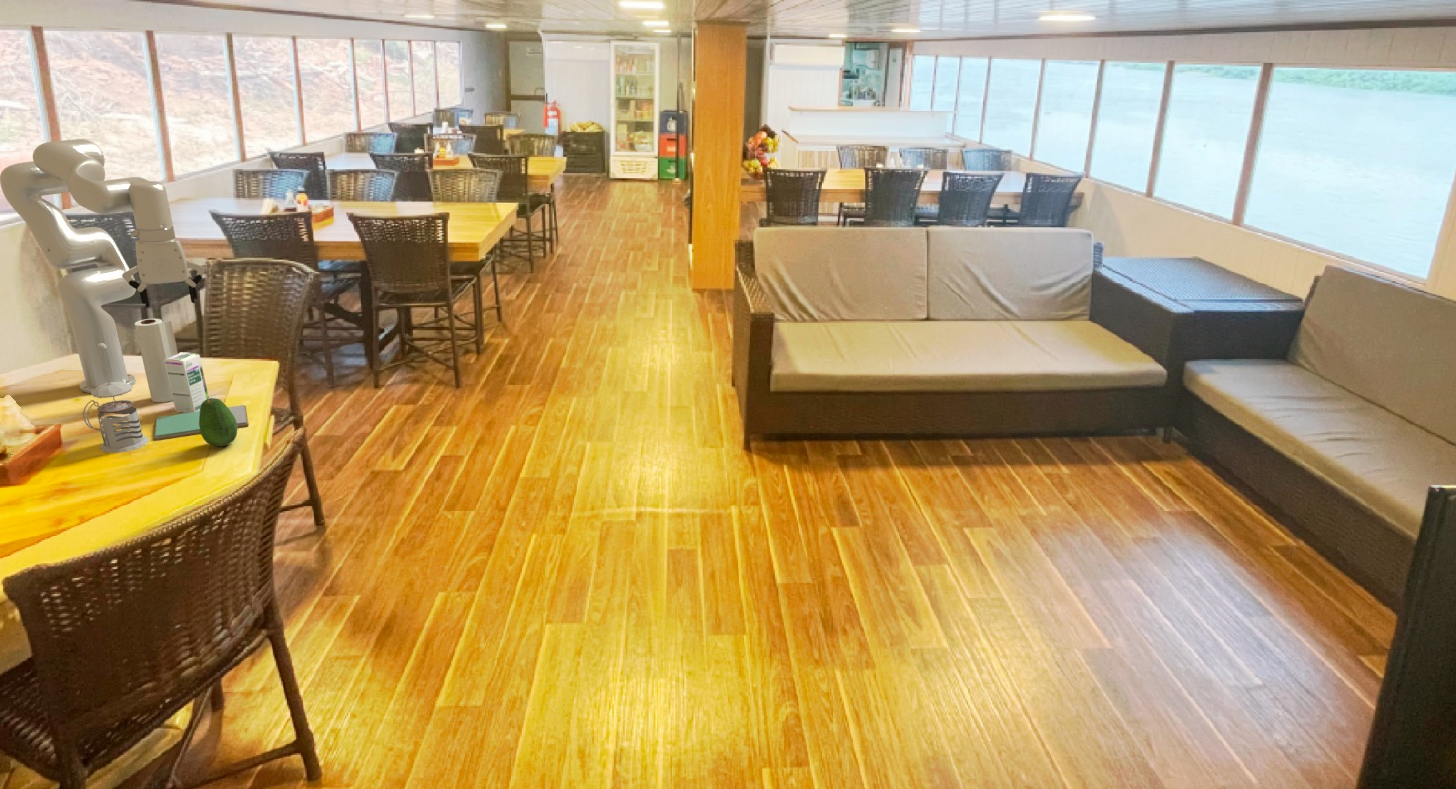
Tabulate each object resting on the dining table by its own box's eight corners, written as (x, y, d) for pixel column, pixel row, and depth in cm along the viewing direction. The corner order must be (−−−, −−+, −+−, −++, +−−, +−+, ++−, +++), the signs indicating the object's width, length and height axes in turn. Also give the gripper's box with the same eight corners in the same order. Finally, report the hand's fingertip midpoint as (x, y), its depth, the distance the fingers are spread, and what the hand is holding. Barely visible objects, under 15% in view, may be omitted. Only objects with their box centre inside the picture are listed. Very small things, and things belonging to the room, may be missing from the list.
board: (156, 420, 226) (155, 416, 225) (245, 407, 235) (245, 404, 234) (154, 440, 215) (153, 436, 215) (248, 426, 224) (247, 422, 224)
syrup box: (194, 414, 230) (183, 360, 224) (174, 412, 231) (163, 358, 225) (211, 406, 235) (200, 353, 230) (191, 403, 236) (180, 351, 231)
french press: (157, 441, 215) (135, 341, 205) (105, 459, 205) (79, 355, 196) (135, 431, 219) (111, 333, 210) (83, 448, 210) (56, 347, 201)
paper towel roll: (146, 401, 237) (128, 322, 229) (166, 393, 242) (149, 316, 234) (167, 405, 235) (150, 326, 226) (187, 397, 240) (171, 320, 232)
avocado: (199, 443, 214) (190, 397, 210) (236, 435, 219) (227, 389, 214) (207, 455, 209) (197, 408, 204) (244, 447, 213) (236, 400, 209)
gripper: (112, 240, 209) (128, 312, 215) (198, 235, 217) (211, 304, 223) (114, 234, 215) (130, 303, 221) (198, 229, 223) (210, 296, 229)
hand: (170, 303), depth 222 cm, fingers open, 9 cm apart
